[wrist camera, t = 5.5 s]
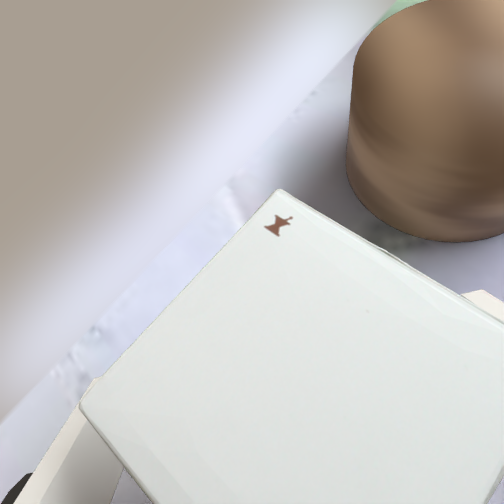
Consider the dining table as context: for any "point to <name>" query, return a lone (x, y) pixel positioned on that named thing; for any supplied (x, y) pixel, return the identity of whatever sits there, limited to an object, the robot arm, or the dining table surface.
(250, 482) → the supplement box
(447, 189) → the brown cylinder
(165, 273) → the dining table surface
